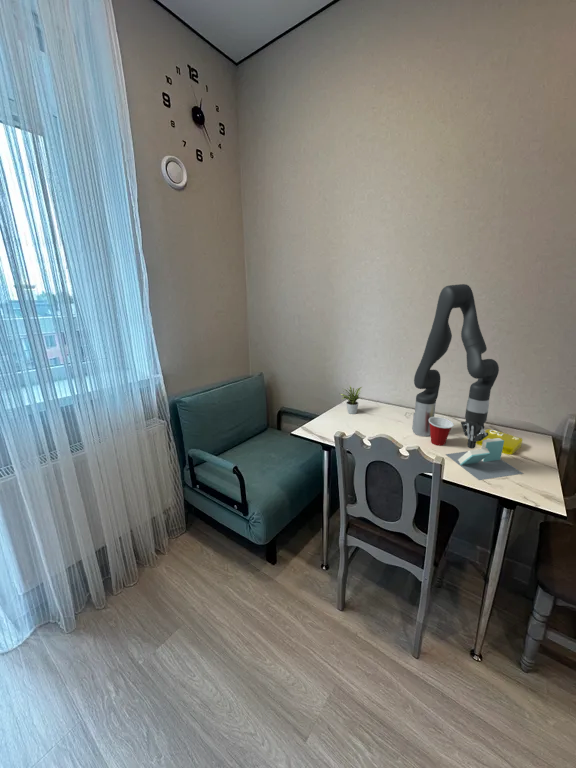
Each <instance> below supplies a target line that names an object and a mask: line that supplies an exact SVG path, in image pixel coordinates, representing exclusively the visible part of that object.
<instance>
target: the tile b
mask: <svg viewBox="0 0 576 768" xmlns="http://www.w3.org/2000/svg"><path fill="white" fill-rule="evenodd" d="M503 444H504V440H502V439H500V438H495V439H488V440H483V442H482V446H481V448H480V449H483V448H487V449H488V451H489V452H490V454H489V455H488V456H486V457H485V458H484V459H482V461H483V462H487V461H494V460H500V459H501V458H502V454H503V453H502V449H503Z"/></svg>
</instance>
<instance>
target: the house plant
mask: <svg viewBox="0 0 576 768" xmlns="http://www.w3.org/2000/svg"><path fill="white" fill-rule="evenodd" d="M362 388H363V386H361V387H359V388H356V389H355V388H354V387H353V388H352V387H351V386H349V388H347V389H345V388H343V391H345V393H347V394H344V393H340V395H341V396H343V397H341V400H343V399H345V400H347V401H346V409H347V414H348V415H356V414H357V412H358V407H359V402H358V401H357V400H359V399H361V400H363V398H360V394H361V391H362V390H361V389H362Z"/></svg>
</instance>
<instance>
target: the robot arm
mask: <svg viewBox="0 0 576 768" xmlns="http://www.w3.org/2000/svg"><path fill="white" fill-rule="evenodd" d="M475 302H476V301H475V298H474V293H473V290H472V287H471V286H470V285H468V284H465V283H462V284H451V285H446V286H444V287H443V288H442V289H441V290H440V293H439V296H438V300H437V304H436V310H435V314H434V318H433V319H434V320H433V322H432V325H431V328H430V332H429V334H428V338H427V340H426V341H427V342H426V345H425V348H424V350H423V351H424V352H423V353H422V357H421V359H420V363H419V364H418V366H417V369H416V371H415V374H414V378H413V383H414V386H415V388H417V389H420V390H423V391H422V392H419V393H417V394H416V396H415V406H414V412H413V419H412V427H411V429H412V432H413V434H415V435H417V436H419V437H420V436H421V437H430V424H429V418H431V417H435V413H436V404H437V399H438V397H439V390H440V387H441V374H440V372H439V370H437V369H432V367H433V366H434V365H435V364H436V363H437V362H438V361H439V360H440V359H441V358H443V356H444V355H445V354H446V353H447V352H448V350H449V347H450V344H451V342H452V338H453V335H452V333H453V332H452V330H451V328H450V327H451V326H450V324H449V319H450V317H451V316H450V315H451V313H452V310H453V309H460V311H461V313H462V317H463V322H462V326H461V327H462V328H461V331H460V332H461V333H460V334H461V335H460V337H461V341H462V344H463V348H464V350H465V352H466V369H467V372H468V374H469V375H470V376H471V377H472V378H473V379H477V380H476V381H475V382H473V383H472V384H470V387H469V392H468V399H467V402H466V408H465V415H464V418H465V420H464V421H460V425H461V427H462V430H463V434H464V435H465V436H466V437H467V448H468V449H470V450H474V449H475V448H476V445H477V444H476V441H481V440H483V439H484V438H485V437H487V436H488V433H486V432H485V431H486V430H485V423H486V422H487V420H488V413H489V409H490V408H489V407H490V397H491V390H492V387H494V384H495V382H496V380H497V377H498V375H499V371H500V366H499V364H498V361H497V360H496V359H493V358H485V359H484V358H482V354H484V353H485V352H486V351H487V350H488V349H487V344H486V341H485V338H484V337H483V334H482V332H481V328H480V324H479V320H478V319H479V318H478V313H477V308H476V303H475Z"/></svg>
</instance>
